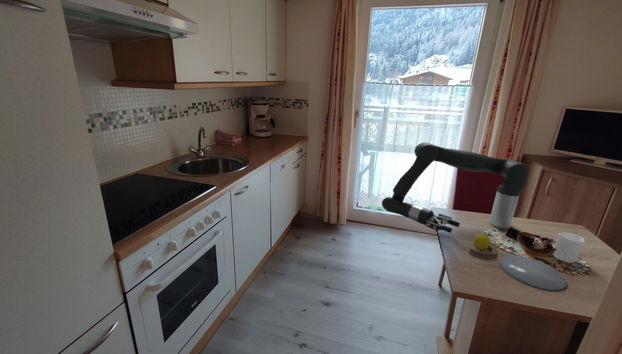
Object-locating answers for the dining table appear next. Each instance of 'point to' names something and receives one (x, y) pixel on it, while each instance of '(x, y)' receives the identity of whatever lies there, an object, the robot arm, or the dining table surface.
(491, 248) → the lemon holder
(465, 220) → the dining table surface
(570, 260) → the white cup
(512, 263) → the plate
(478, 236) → the lemon
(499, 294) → the dining table surface
